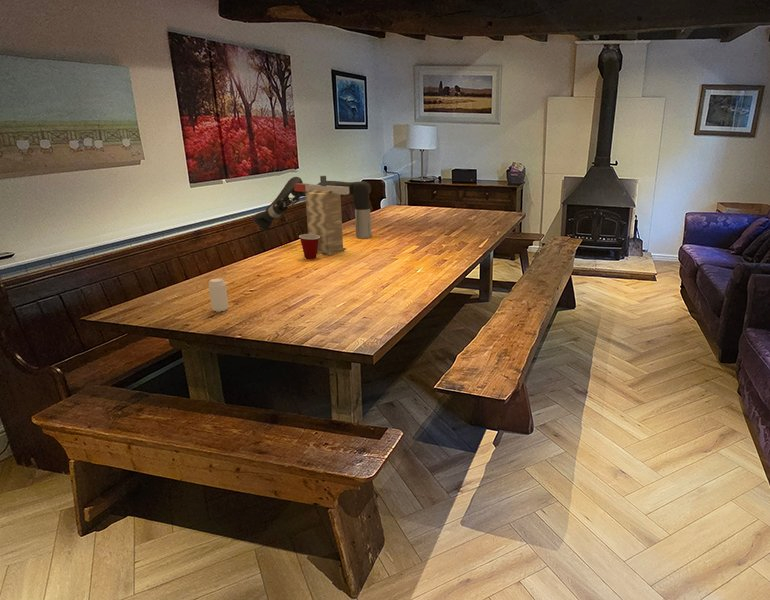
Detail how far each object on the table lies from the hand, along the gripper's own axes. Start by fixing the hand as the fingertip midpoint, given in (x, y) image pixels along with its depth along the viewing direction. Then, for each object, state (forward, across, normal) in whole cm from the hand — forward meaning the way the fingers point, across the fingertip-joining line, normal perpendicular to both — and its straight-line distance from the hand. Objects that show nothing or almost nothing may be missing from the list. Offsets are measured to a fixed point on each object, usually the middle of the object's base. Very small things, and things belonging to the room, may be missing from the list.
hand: (294, 196), depth 295 cm
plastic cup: (+7, -16, +38) cm, 41 cm away
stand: (+4, 0, +36) cm, 36 cm away
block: (+19, 0, +7) cm, 21 cm away
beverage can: (+30, -94, +51) cm, 111 cm away
